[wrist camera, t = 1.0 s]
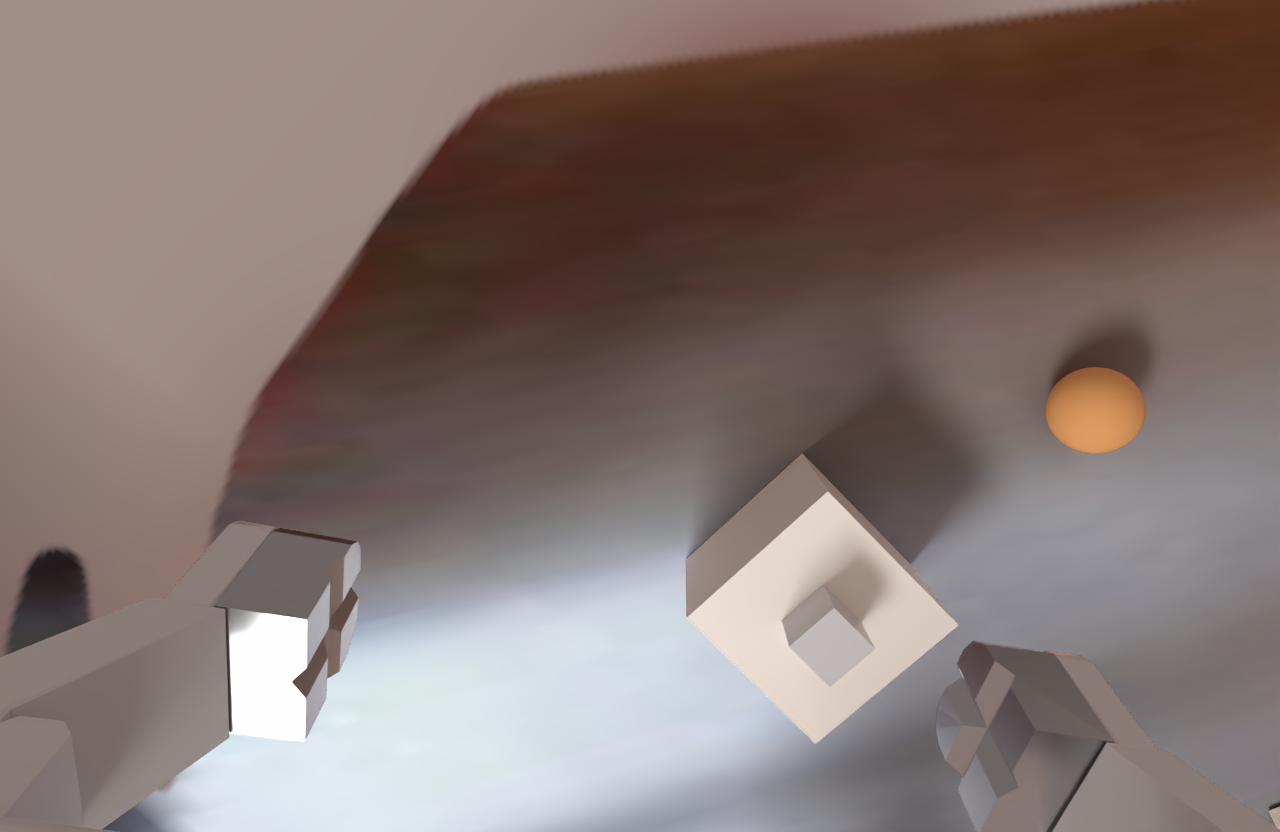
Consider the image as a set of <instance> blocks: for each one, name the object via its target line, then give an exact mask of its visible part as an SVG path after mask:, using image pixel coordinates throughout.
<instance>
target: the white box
mask: <svg viewBox="0 0 1280 832" xmlns="http://www.w3.org/2000/svg"><path fill="white" fill-rule="evenodd" d="M686 617H687V619H688V620H689V621H690V622H691V623H692V624H693V625H694V626H695V627H696V628H697V629H698V630H699V631H700V632H701V633H702V634H703V635H704V636H705V637H706V638H708V639H709V640H710V641H711V642H712V643H713V644H714V645H715V646H716V647H717V648H718V649H719V650H720V651H721V652H722V653H723V654H724V655H725V656H726V657H727V658H728V659H729V660H730V661H731V662H732V663H733V664H734V665H735V666H736V667H737V668H738V669H739V670H740V671H741V672H742V673H743V674H744V675H745V676H746V677H747V678H748V679H749V680H750V681H751V682H753V683H754V684H755V685H756V686H757V687H758V688H759V689H760V690H761V691H762V692H763V693H764V694H765V695H766V696H767V697H768V698H769V699H770V700H771V701H772V702H773V703H774V704H775V705H776V706H777V707H778V708H779V709H780V710H781V711H782V712H783V713H784V714H785V715H786V716H787V717H788V718H789V719H790V720H791V721H792V722H793V723H794V724H795V725H797V726H798V727H799V728H800V729H801V730H802V731H803V732H804V733H805V734H806V735H807V736H808V737H809V738H810V739H811V740H812V741H813V742H814V743H815V744H816V743H817V742H818V741H820V740H821V739H822V738H823V737H825V736H826V735H827V734H828V733H829V732H831V731H832V730H833V729H834V728H835V727H837V726H838V725H839V724H840V723H841V722H843V721H844V720H845V719H846V718H847V717H849V716H850V715H851V714H852V713H853V712H855V711H856V710H857V709H858V708H860V707H861V706H862V705H863V704H864V703H866V702H867V701H868V700H869V699H870V698H872V697H873V696H874V695H875V694H876V693H878V692H879V691H880V690H881V689H882V688H884V687H885V686H886V685H887V684H888V683H890V682H891V681H892V680H893V679H895V678H896V677H897V676H898V675H899V674H901V673H902V672H903V671H904V670H905V669H907V668H908V667H909V666H910V665H911V664H913V663H914V662H915V661H916V660H917V659H919V658H920V657H921V656H922V655H923V654H925V653H926V652H927V651H928V650H929V649H931V648H932V647H933V646H934V645H936V644H937V643H938V642H939V641H940V640H942V639H943V638H944V637H945V636H946V635H948V634H949V633H950V632H951V631H952V630H954V629H955V628H956V627H957V626H958V624H957V622H956V621H955V620H954V619H953V617H952V616H951V615H950V613H949V612H948V611H947V610H946V608H945V607H944V606H943V605H942V603H941V602H940V601H939V600H938V598H937V597H936V596H935V594H934V593H933V592H932V591H931V589H930V588H929V587H928V586H927V584H926V583H925V582H924V581H923V579H922V578H921V577H920V575H919V574H918V573H917V572H916V570H915V569H914V568H913V567H912V565H911V564H910V563H909V562H908V561H907V560H906V559H905V558H904V557H903V556H902V555H901V554H900V553H899V552H898V551H897V550H896V549H895V548H894V547H893V546H892V545H891V544H890V543H889V542H888V541H887V540H886V539H885V538H884V537H883V535H882V534H881V533H880V532H879V531H878V530H877V529H876V528H875V527H874V526H873V525H872V524H871V523H870V522H869V521H868V520H867V519H866V518H865V517H864V516H863V515H862V514H861V513H860V512H859V511H858V510H857V509H856V508H855V507H854V506H853V505H852V504H851V503H850V502H849V501H848V500H847V499H846V498H845V497H844V496H843V495H842V493H841V492H840V491H839V490H838V489H837V488H836V487H835V486H834V485H833V484H832V483H831V482H830V481H829V480H828V479H827V478H826V477H825V476H824V475H823V474H822V473H821V472H820V471H819V470H818V469H817V468H816V467H815V466H814V465H813V464H812V463H811V462H810V461H809V460H808V459H807V458H806V457H805V456H804V455H803V454H801V455H800V456H798V457H797V458H796V459H795V460H794V461H793V462H792V463H791V464H790V465H789V466H788V467H786V468H785V469H784V470H783V471H782V472H781V473H780V474H779V475H778V476H777V477H775V478H774V479H773V480H772V481H771V482H770V483H769V484H768V485H767V486H766V487H765V488H763V489H762V490H761V491H760V492H759V493H758V494H757V495H756V496H755V497H754V498H752V499H751V500H750V501H749V502H748V503H747V504H746V505H745V506H744V507H743V508H742V509H740V510H739V511H738V512H737V513H736V514H735V515H734V516H733V517H732V518H731V519H729V520H728V521H727V522H726V523H725V524H724V525H723V526H722V527H721V528H720V529H719V530H717V531H716V532H715V533H714V534H713V535H712V536H711V537H710V538H709V539H708V540H706V541H705V542H704V543H703V544H702V545H701V546H700V547H699V548H698V549H697V550H696V551H694V552H693V553H692V554H691V555H690V556H689V557H688V558H687V559H686Z"/></svg>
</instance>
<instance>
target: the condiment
mask: <svg viewBox="0 0 1280 832" xmlns="http://www.w3.org/2000/svg"><path fill="white" fill-rule="evenodd" d="M1269 813H1270V815H1271V817H1272V820H1273V822H1274V824H1275V826H1276V828H1278V829H1279V830H1280V807H1277V808H1275V809H1272V810H1270V811H1269Z"/></svg>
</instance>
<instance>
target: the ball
mask: <svg viewBox="0 0 1280 832" xmlns="http://www.w3.org/2000/svg"><path fill="white" fill-rule="evenodd" d="M1145 410H1146V409H1145V402H1144V398H1143V396H1142V393H1141V391H1140V390H1139V388H1138V387H1137V386H1136V384H1135V383H1134V382H1133V381H1132V380H1131V379H1129V378H1128V377H1127V376H1125V375H1124V374H1122V373H1120V372H1118V371H1115V370H1112V369H1108V368H1102V367H1089V368H1083V369H1079V370H1076V371H1074V372H1072V373H1070V374H1068V375H1066V376H1065V377H1063V378H1062V379H1061V380H1060V381H1059V382H1058V383H1057V384H1056V385H1055V386H1054V387H1053V389H1052V390H1051V392H1050V394H1049V396H1048V399H1047V403H1046V418H1047V422H1048V424H1049V427H1050V429H1051V431H1052V432H1053V434H1054V435H1055V436H1056V437H1057V438H1058V439H1059V440H1060V441H1061V442H1062V443H1064V444H1065V445H1067V446H1068V447H1070V448H1072V449H1075V450H1078V451H1081V452H1085V453H1105V452H1110V451H1113V450H1116V449H1118V448H1121V447H1122V446H1124V445H1126V444H1127V443H1128V442H1130V441H1131V440H1132V439H1133V438H1134V437H1135V436H1136V435H1137V434H1138V432H1139V431H1140V429H1141V427H1142V425H1143V422H1144V419H1145Z"/></svg>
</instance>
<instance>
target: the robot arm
mask: <svg viewBox="0 0 1280 832" xmlns="http://www.w3.org/2000/svg"><path fill="white" fill-rule="evenodd" d="M360 549H361V548H360V546H359V544H358V542H357V541H351V540H346V539H340V538H335V537H329V536H324V535H318V534H313V533H307V532H302V531H296V530H291V529H285V528H276V527H273V526H267V525H261V524H255V523H249V522H243V521H237V522H234V523H231V524H230V525H228V526H227V527H226V528H225V530H224V531H223V532H222V533H221V534H220V535H219V536H218V537H217V539H216V540H215V541H214V542H213V543H212V544H211V545H210V546H209V548H208V549H207V550H206V551H205V552H204V553H203V554H202V556H201V557H200V558H199V559H198V560H197V561H196V562H195V563H194V565H193V566H192V567H191V568H190V569H189V570H188V571H187V573H186V574H185V575H184V576H183V577H182V578H181V579H180V580H179V582H178V583H177V584H176V585H175V586H174V587H173V589H171V591H170V592H169V593H168V594H167V595H166V596H165V597H164V599H156V598H148V599H145V600H143V601H140V602H138V603H135V604H133V605H130V606H128V607H125V608H123V609H120V610H118V611H115V612H113V613H110V614H108V615H105V616H103V617H101V618H98V619H95V620H93V621H90V622H88V623H85V624H83V625H80V626H78V627H75V628H73V629H70V630H68V631H65V632H63V633H60V634H58V635H55V636H53V637H50V638H48V639H45V640H43V641H40V642H38V643H35V644H33V645H30V646H28V647H25V648H23V649H20V650H18V651H16V652H13V653H11V654H8V655H6V656H3V657H1V658H0V832H116V831H109V830H101V829H103V828H104V827H106V826H107V825H108V824H110V823H111V822H113V821H114V820H115V819H117V818H118V817H119V816H121V815H122V814H124V813H125V812H126V811H128V810H129V809H131V808H132V807H133V806H135V805H136V804H138V803H139V802H140V801H142V800H143V799H144V798H146V797H147V796H149V795H150V794H151V793H153V792H154V791H156V790H157V789H158V788H160V787H161V786H162V785H164V784H165V783H167V782H168V781H169V780H171V779H172V778H174V777H175V776H176V775H178V774H179V773H181V772H182V771H183V770H185V769H186V768H187V767H189V766H190V765H192V764H193V763H194V762H196V761H197V760H199V759H200V758H201V757H203V756H204V755H206V754H207V753H208V752H210V751H211V750H212V749H214V748H215V747H217V746H218V745H219V744H221V743H222V742H224V741H225V740H226V739H228V738H229V733H233V734H242V735H251V736H260V737H269V738H278V739H287V740H296V741H305V740H306V738H307V736H308V734H309V732H310V730H311V728H312V726H313V724H314V722H315V720H316V718H317V716H318V714H319V712H320V710H321V708H322V706H323V704H324V702H325V700H326V690H327V678H329V677H331V676H332V675H334V674H336V673H338V672H339V671H340V669H341V667H342V665H343V662H344V660H345V658H346V656H347V654H348V651H349V647H350V644H351V641H352V638H353V634H354V631H355V625H356V619H357V613H358V596H357V595H356V593H355V592H354V591H353V589H352V588H351V586H352V584H353V582H354V580H355V578H356V576H357V574H358V572H359V571H360ZM957 665H958V667H959V670H960V673H961V676H962V678H961V679H959V680H958V681H956V682H954V683H953V684H951V685H950V686H948V687H947V688H945V690H944V693H943V695H942V698H941V700H940V702H939V705H938V707H937V718H936V733H937V738H938V744H939V747H940V749H941V751H942V754H943V756H944V759H945V761H946V762H947V763H948V764H949V765H951V766H952V767H953V768H954V769H955V770H956V771H957V772H958V773H959V774H960V775H961V776H962V780H961V782H960V785H959V788H958V792H959V794H960V796H961V798H962V801H963V803H964V805H965V808H966V810H967V812H968V814H969V817H970V819H971V821H972V824H973V826H974V828H975V831H976V832H1280V830H1279V829H1278V828H1276V827H1275V826H1274V825H1272V824H1271V823H1269V822H1268V821H1266V820H1265V819H1264V818H1262V817H1261V816H1259V815H1258V814H1256V813H1255V812H1254V811H1252V810H1251V809H1249V808H1248V807H1246V806H1245V805H1244V804H1242V803H1241V802H1239V801H1238V800H1236V799H1235V798H1234V797H1232V796H1231V795H1229V794H1228V793H1226V792H1225V791H1224V790H1222V789H1221V788H1219V787H1218V786H1216V785H1215V784H1214V783H1212V782H1211V781H1209V780H1208V779H1206V778H1205V777H1204V776H1202V775H1201V774H1199V773H1198V772H1196V771H1195V770H1194V769H1192V768H1191V767H1189V766H1188V765H1186V764H1185V763H1184V762H1182V761H1181V760H1179V759H1178V758H1177V757H1175V756H1174V755H1172V754H1171V753H1169V752H1165V751H1159V750H1157V749H1156V748H1155V746H1154V745H1153V744H1152V742H1151V741H1150V740H1149V738H1148V737H1147V736H1146V734H1145V733H1144V732H1143V730H1142V729H1141V728H1140V726H1139V725H1138V724H1137V722H1136V721H1135V720H1134V718H1133V717H1132V716H1131V714H1130V713H1129V712H1128V710H1127V709H1126V708H1125V706H1124V705H1123V703H1122V702H1121V701H1120V699H1119V698H1118V697H1117V695H1116V694H1115V693H1114V691H1113V690H1112V689H1111V687H1110V686H1109V685H1108V683H1107V682H1106V681H1105V679H1104V678H1103V677H1102V675H1101V674H1100V673H1099V671H1098V670H1097V669H1096V667H1095V666H1094V665H1093V663H1092V662H1090V661H1089V660H1087V659H1086V658H1084V657H1082V656H1080V655H1073V654H1065V653H1058V652H1050V651H1044V652H1041V651H1034V650H1028V649H1021V648H1015V647H1008V646H1002V645H995V644H989V643H983V642H976V641H973V642H971V643H970V644H969V645H968V646H967V647H966V648H965V649H964V651H963V653H962V655H961V657H960V659H959V661H958V663H957Z"/></svg>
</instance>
